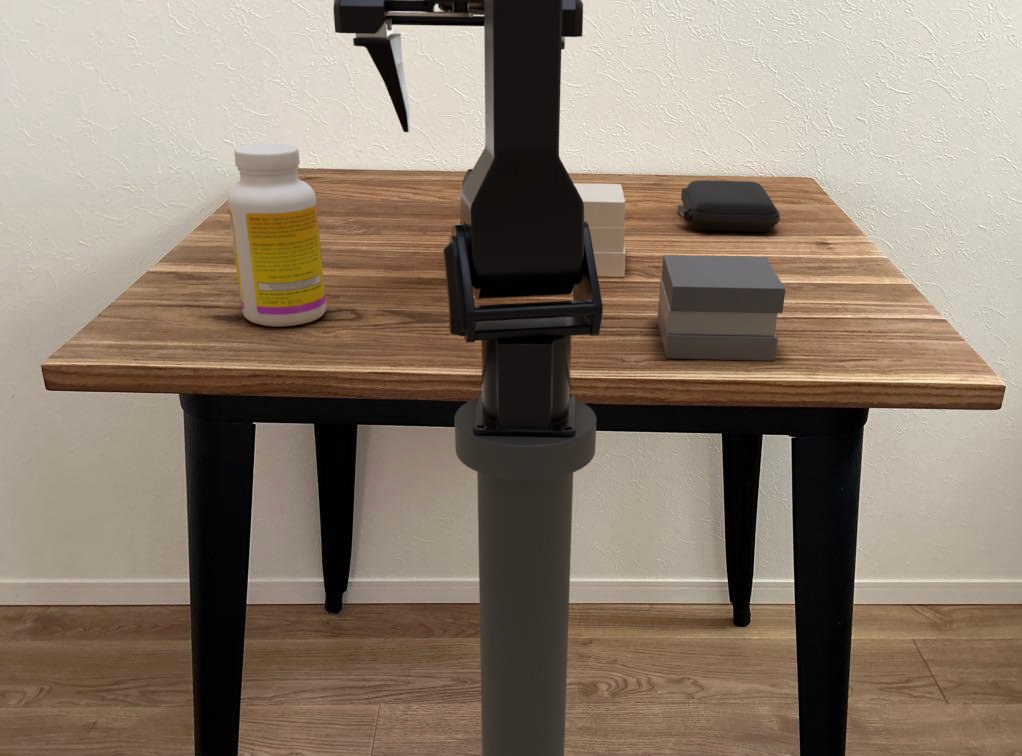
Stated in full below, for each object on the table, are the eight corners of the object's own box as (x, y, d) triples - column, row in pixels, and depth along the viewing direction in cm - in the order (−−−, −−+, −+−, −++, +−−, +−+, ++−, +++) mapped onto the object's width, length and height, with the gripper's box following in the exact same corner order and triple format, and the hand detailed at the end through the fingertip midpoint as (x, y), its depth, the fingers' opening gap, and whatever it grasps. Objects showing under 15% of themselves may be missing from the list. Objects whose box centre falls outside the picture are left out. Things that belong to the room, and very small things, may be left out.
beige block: (624, 277, 96) (627, 228, 94) (558, 275, 96) (559, 226, 94) (620, 252, 104) (622, 206, 101) (559, 251, 104) (560, 205, 101)
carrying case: (670, 203, 123) (678, 234, 110) (672, 176, 122) (680, 204, 109) (762, 205, 123) (780, 236, 110) (765, 178, 121) (784, 206, 108)
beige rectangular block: (624, 227, 94) (625, 202, 93) (562, 226, 94) (563, 201, 93) (619, 207, 101) (621, 183, 100) (562, 206, 101) (563, 182, 100)
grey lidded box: (776, 361, 77) (785, 288, 75) (666, 358, 77) (671, 286, 75) (757, 324, 85) (765, 256, 82) (657, 322, 85) (661, 254, 82)
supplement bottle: (343, 316, 85) (330, 148, 79) (274, 335, 81) (254, 159, 74) (294, 298, 89) (277, 137, 83) (226, 315, 85) (202, 147, 78)
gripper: (583, -88, 84) (577, 119, 92) (351, -92, 85) (364, 116, 92) (586, -92, 75) (579, 140, 82) (324, -96, 75) (341, 136, 83)
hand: (463, 132), depth 85 cm, fingers open, 9 cm apart
